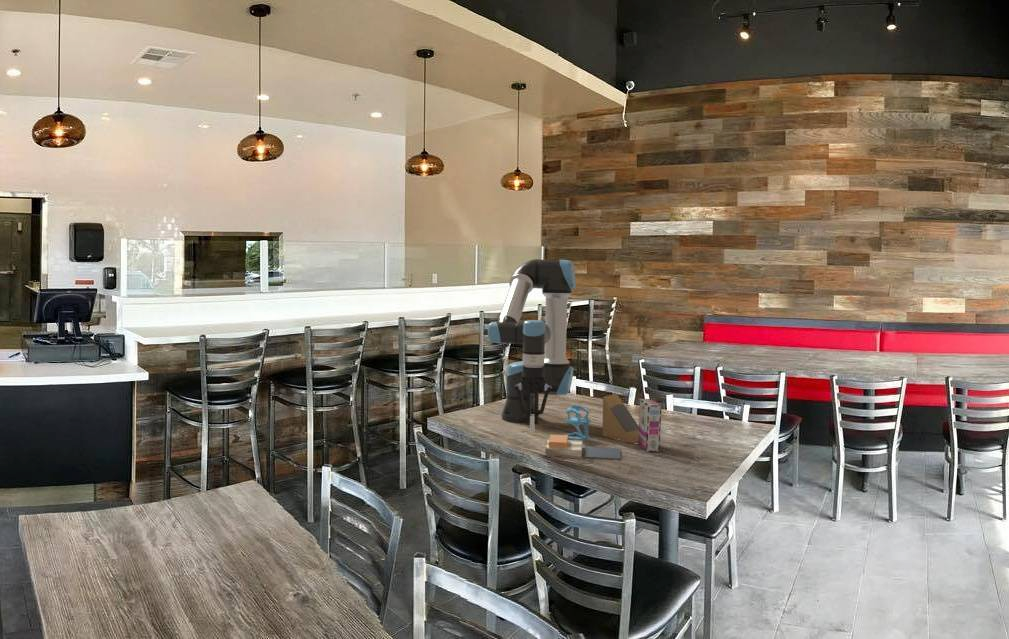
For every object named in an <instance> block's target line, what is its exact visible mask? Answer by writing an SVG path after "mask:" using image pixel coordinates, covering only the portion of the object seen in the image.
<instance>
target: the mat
mask: <svg viewBox="0 0 1009 639" xmlns="http://www.w3.org/2000/svg"><path fill="white" fill-rule="evenodd" d="M583 457H584V459H593V458H601V459H600V460H612V459H622V458H621V449H620V447H611V446H610V447H606V446H587V445H586V446H585V447H584V455H583Z"/></svg>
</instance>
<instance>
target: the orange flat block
mask: <svg viewBox="0 0 1009 639" xmlns="http://www.w3.org/2000/svg"><path fill="white" fill-rule="evenodd" d="M548 439H549V448H566V449H567V443H568V440H569V439H568V435H567V434H564V435H563V434H550V436H549V438H548Z"/></svg>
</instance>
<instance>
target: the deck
mask: <svg viewBox="0 0 1009 639" xmlns="http://www.w3.org/2000/svg"><path fill="white" fill-rule="evenodd" d="M549 439H550V438H548V439H547V442H546V445H545V449H544V450H545V452H544V453H545V454H544V455H545V457H554V456H561V457H560V458H573V457H574V458H576V459H577V458H578V459H581V458H582V455H583V454H582V452H583V441H581V440H570V439H568V443H567V449H566V448H549Z"/></svg>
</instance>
